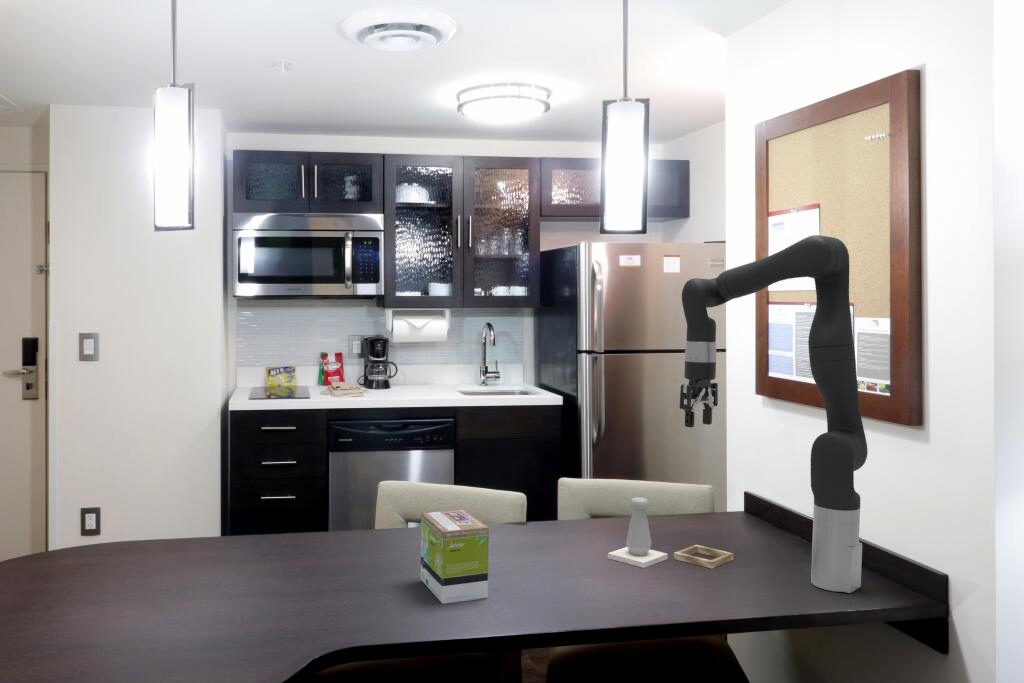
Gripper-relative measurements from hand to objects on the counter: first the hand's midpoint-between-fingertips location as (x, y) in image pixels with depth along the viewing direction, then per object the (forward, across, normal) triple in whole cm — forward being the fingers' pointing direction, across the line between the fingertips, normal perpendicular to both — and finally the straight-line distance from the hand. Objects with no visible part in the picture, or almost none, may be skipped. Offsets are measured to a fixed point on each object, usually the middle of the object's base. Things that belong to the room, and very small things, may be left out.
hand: (698, 425), depth 201 cm
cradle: (+30, -8, -7) cm, 32 cm away
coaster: (+30, -19, +4) cm, 36 cm away
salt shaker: (+29, -19, +4) cm, 35 cm away
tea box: (+30, -65, +18) cm, 74 cm away
